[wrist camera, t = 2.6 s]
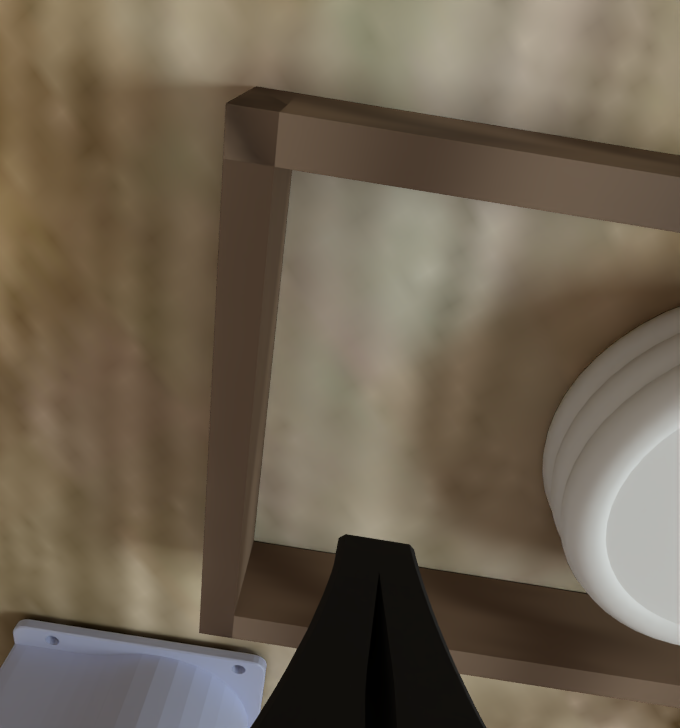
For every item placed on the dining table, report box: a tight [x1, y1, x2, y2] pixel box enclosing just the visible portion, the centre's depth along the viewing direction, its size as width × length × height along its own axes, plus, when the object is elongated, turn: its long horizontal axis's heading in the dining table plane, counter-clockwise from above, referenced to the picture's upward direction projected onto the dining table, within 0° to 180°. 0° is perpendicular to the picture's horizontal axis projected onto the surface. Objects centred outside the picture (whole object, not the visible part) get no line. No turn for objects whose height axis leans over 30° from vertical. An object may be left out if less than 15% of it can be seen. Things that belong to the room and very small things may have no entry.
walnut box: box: [199, 87, 680, 708], centre depth 17 cm, size 20×15×3 cm
